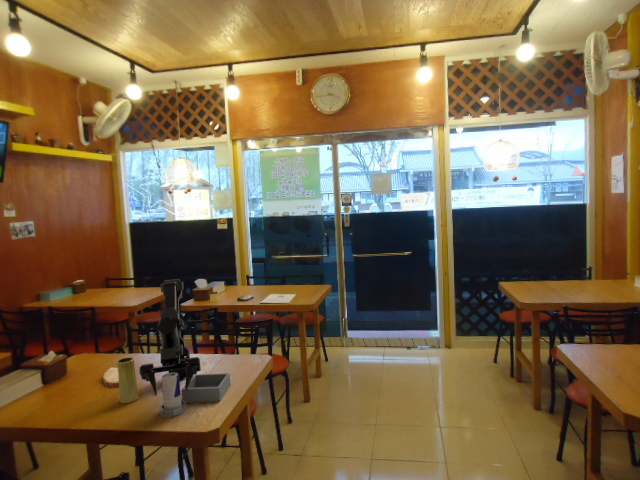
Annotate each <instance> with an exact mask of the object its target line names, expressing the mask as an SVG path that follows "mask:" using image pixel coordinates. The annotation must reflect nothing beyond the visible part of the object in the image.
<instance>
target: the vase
mask: <svg viewBox="0 0 640 480" xmlns="http://www.w3.org/2000/svg"><path fill="white" fill-rule="evenodd" d="M116 363H117V367H118V375H119V387H118V390H119V402H120V403H121V404H128V403H129V404H130V403H133V402H135V401H137V400H138V399H139V398H140V397H139V393H138V385H137V384H138V383H137V377H136V376H137V375H136V367H135V366H136V365H135V359H134V357H130V356H128V357H121V358H119V359H118V360H117V361H116Z"/></svg>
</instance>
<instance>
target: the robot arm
mask: <svg viewBox="0 0 640 480" xmlns="http://www.w3.org/2000/svg"><path fill="white" fill-rule="evenodd" d="M183 291H184V281H183V280H182V281H181V280H180V278H177V279H175V278H174V279H166V280H163V281H162V283H160V293H163V296H164V310H163V312H161V314H160V320H159V321H158V323H157V331H158V333H159V337H160V340H161V349H160V351H159V353H160V364H161V365H158V366H154V363H146V364H141V365H140V367H139V375H140V378H141V380H143V381H144V380H145V382H149V383H150V384H151V387H152V390H153V392H154V395H155V397H157V396H158V389H157V379H156V376H155V375H156V374H160V373H165V372H168V373H172V372H175V373H178V375H179V381H183V380H185V383H184V384H185V385H184V386H185V390H186V391H187V389H188V387H189V384H190V381H191V379H192V377H193V376H194V375H195V374H197V373H198V372H201V371H202V370H201V359H200V357H199V356H195V357H191V356H190V354H191V353H190V349H189V348H188V347H187V345H186V343H185V341H184V339H183V338H182V337H181V329H182V328H183V327H184V320H183V319H182V318H180V303H179V301H180V299H181V298H182V296H183Z"/></svg>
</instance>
